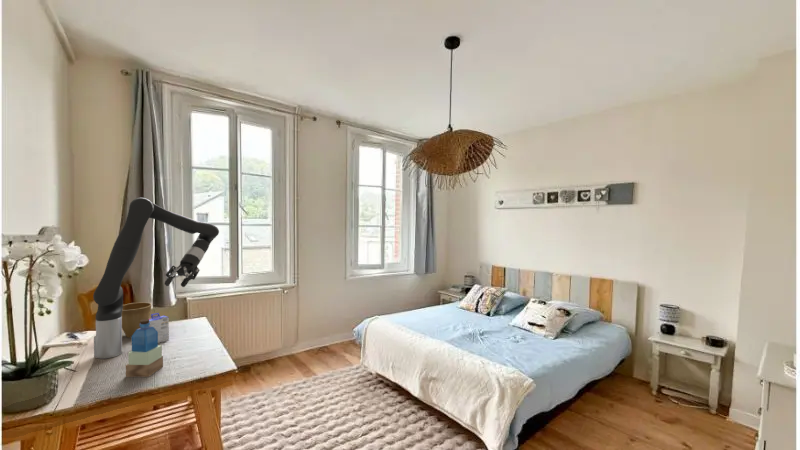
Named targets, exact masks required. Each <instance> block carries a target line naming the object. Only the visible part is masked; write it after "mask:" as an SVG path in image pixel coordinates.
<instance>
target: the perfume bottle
mask: <svg viewBox="0 0 800 450" xmlns="http://www.w3.org/2000/svg"><path fill="white" fill-rule="evenodd" d="M149 319H150V318H149ZM149 319H144V320H140V327H141V328H139V329H137V330H136V331H135V332H134V334H133V335H132V337H131V351H135V352H147V351H149V350H151V349H153V348H155V347H158V345H159V343H158V332H157V331H156V329H155V328H154V327H149V325H150V322H149Z"/></svg>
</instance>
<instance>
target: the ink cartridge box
mask: <svg viewBox="0 0 800 450" xmlns="http://www.w3.org/2000/svg"><path fill="white" fill-rule="evenodd" d="M150 316H151V317H150V318H149V322H150V325H149V327H154V328H155V329H156V331H157V332H158V344H160V343H162V342H167V341H170V332H169V331H170V330H169V329H170V327H169V322H170V321H169V320H170V319H169V316H166V315H160V312H156V313H150Z"/></svg>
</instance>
